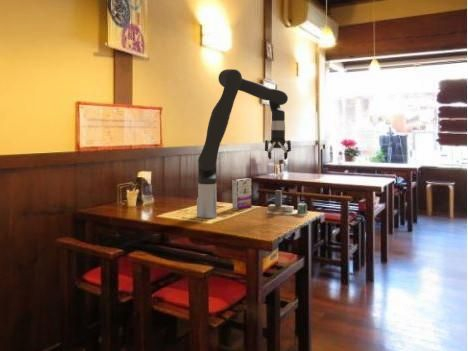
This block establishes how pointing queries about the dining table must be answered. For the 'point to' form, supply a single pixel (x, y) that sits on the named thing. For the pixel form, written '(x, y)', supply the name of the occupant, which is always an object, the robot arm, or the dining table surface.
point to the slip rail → (281, 211)
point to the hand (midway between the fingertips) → (277, 159)
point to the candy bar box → (242, 193)
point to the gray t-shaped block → (279, 201)
